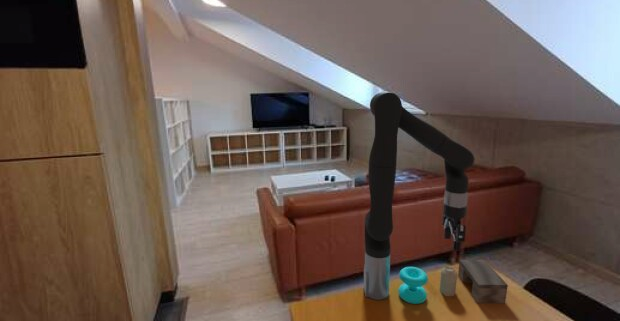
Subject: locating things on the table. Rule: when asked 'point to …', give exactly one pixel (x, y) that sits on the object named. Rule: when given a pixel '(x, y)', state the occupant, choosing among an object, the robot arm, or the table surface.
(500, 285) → the bridge
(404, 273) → the turquoise spool
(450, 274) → the candle
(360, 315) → the table surface
